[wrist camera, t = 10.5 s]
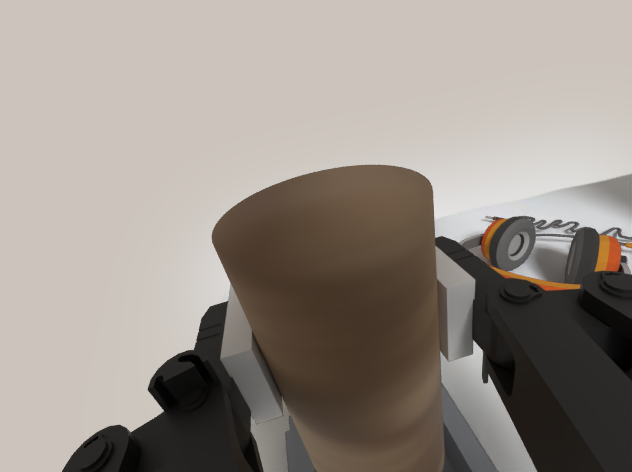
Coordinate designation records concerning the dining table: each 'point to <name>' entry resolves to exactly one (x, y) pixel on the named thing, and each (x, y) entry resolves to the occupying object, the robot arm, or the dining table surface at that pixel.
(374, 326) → the walnut cylinder
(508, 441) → the dining table surface
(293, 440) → the grey square tray
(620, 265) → the headphones
